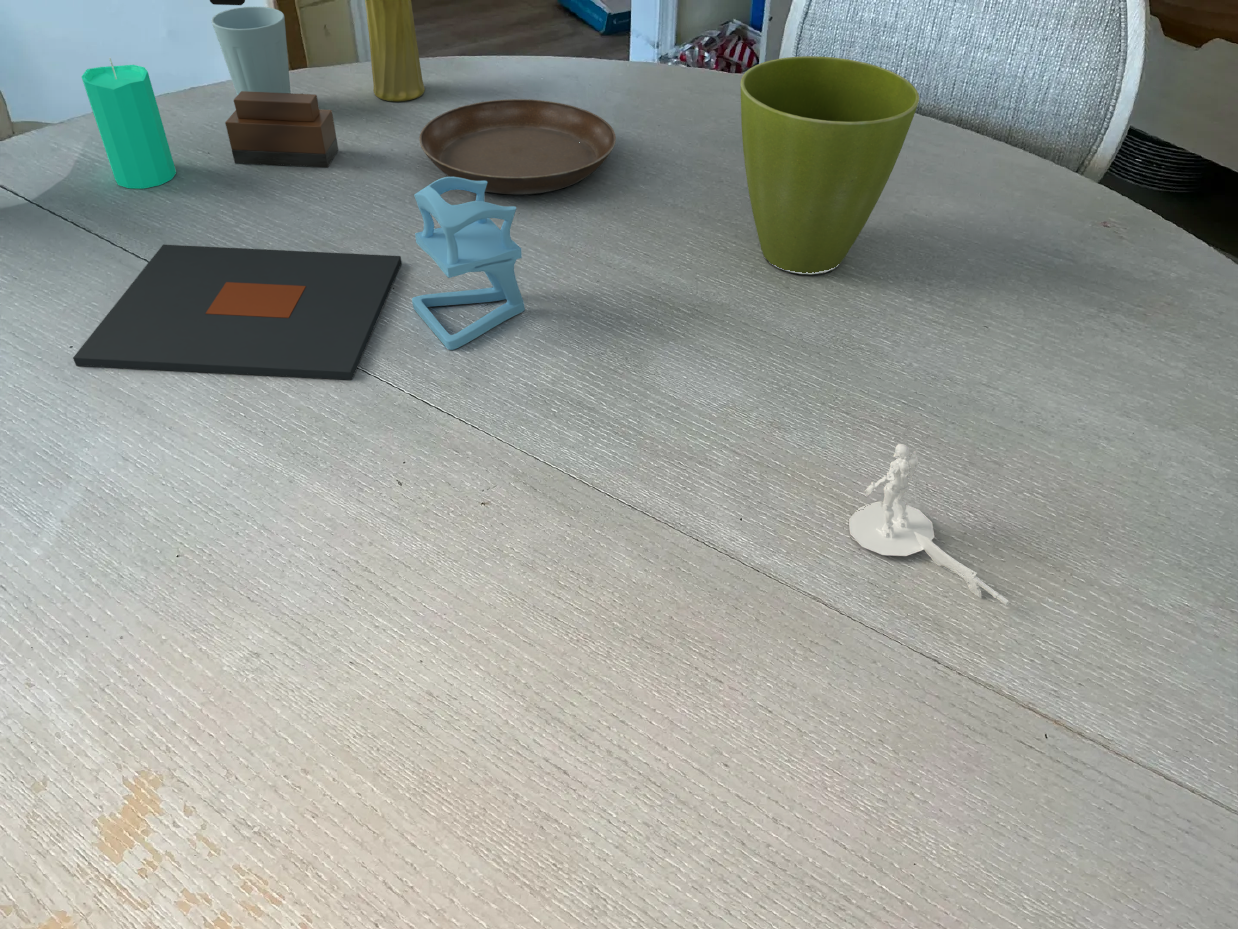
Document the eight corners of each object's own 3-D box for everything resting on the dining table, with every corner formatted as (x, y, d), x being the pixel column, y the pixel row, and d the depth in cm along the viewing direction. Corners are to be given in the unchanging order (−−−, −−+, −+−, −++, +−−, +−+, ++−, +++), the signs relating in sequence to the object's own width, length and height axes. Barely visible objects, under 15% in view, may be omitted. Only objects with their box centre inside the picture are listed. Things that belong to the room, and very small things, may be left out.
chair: (538, 323, 86) (534, 192, 78) (448, 351, 82) (434, 217, 74) (497, 282, 91) (489, 154, 83) (411, 306, 87) (394, 176, 79)
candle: (102, 184, 103) (62, 65, 95) (136, 159, 107) (101, 44, 99) (155, 192, 102) (118, 72, 94) (187, 166, 106) (155, 50, 98)
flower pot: (744, 206, 103) (763, 45, 92) (892, 233, 99) (929, 69, 88) (704, 278, 92) (720, 104, 81) (868, 311, 88) (907, 134, 78)
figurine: (885, 502, 71) (896, 408, 67) (1033, 592, 64) (1058, 493, 59) (829, 537, 69) (836, 442, 64) (976, 636, 61) (997, 536, 56)
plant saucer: (487, 110, 119) (486, 82, 117) (646, 147, 113) (647, 118, 111) (383, 179, 105) (379, 149, 103) (557, 225, 99) (557, 194, 96)
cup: (220, 109, 118) (197, 15, 111) (278, 92, 122) (260, 1, 115) (254, 129, 114) (234, 33, 107) (313, 110, 118) (297, 18, 111)
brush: (234, 163, 107) (220, 102, 103) (248, 145, 111) (234, 86, 106) (327, 167, 107) (317, 107, 103) (338, 149, 110) (328, 90, 106)
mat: (75, 365, 80) (72, 357, 79) (165, 251, 93) (162, 243, 93) (352, 380, 79) (350, 371, 79) (401, 263, 93) (400, 255, 92)
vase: (363, 91, 123) (345, -35, 113) (405, 79, 126) (391, -45, 117) (393, 106, 120) (376, -23, 110) (435, 93, 123) (422, -33, 114)
